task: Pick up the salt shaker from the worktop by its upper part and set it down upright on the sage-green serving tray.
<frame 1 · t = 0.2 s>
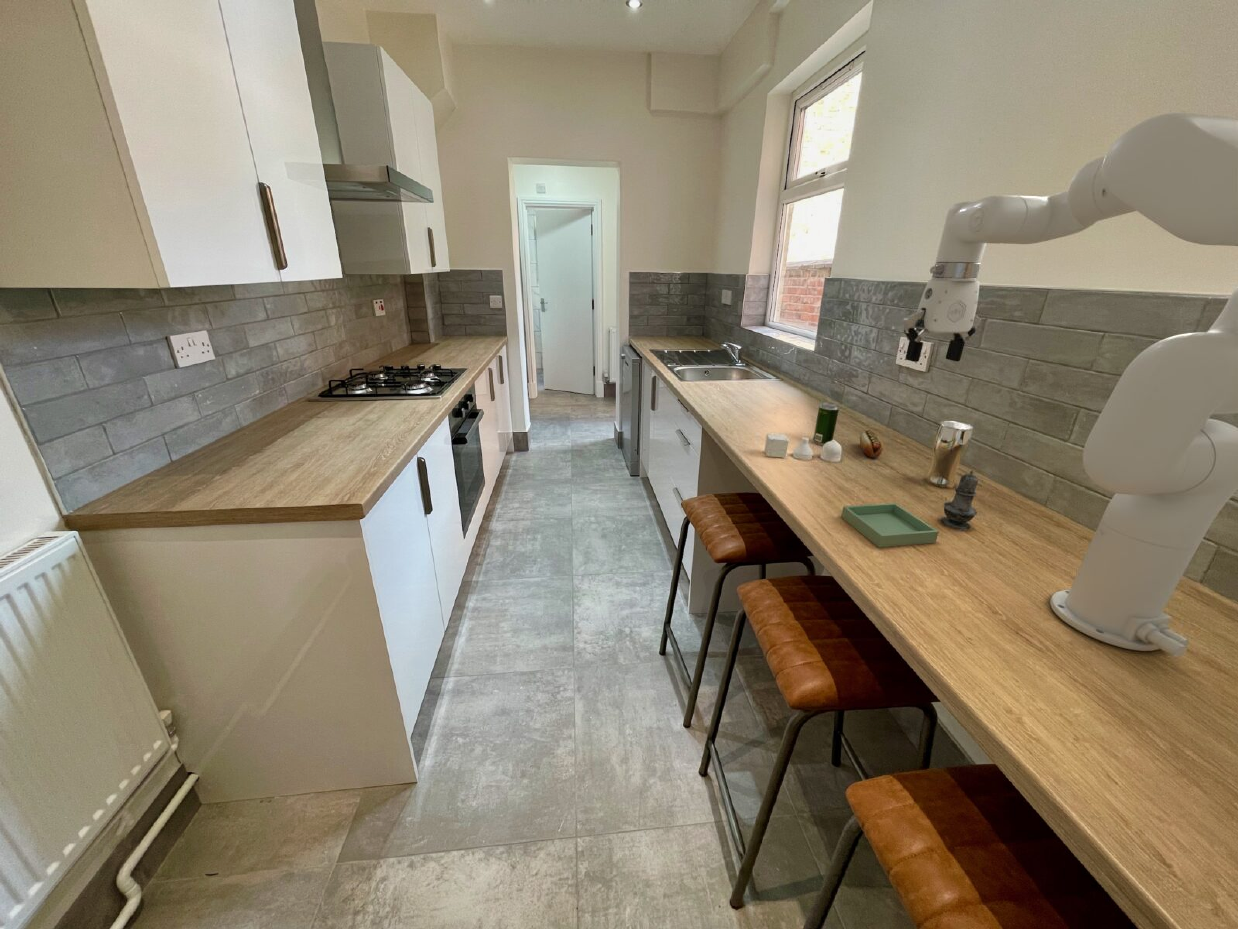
hand: (932, 360, 102), 31 cm above the table, tool pointing down, fingers open, 9 cm apart
serving tray: (886, 529, 98), on the table
beer can: (822, 443, 147), on the table
hot dog: (868, 452, 140), on the table
beer glass: (939, 483, 120), on the table
container set: (802, 457, 135), on the table
salt shaker: (955, 524, 101), on the table
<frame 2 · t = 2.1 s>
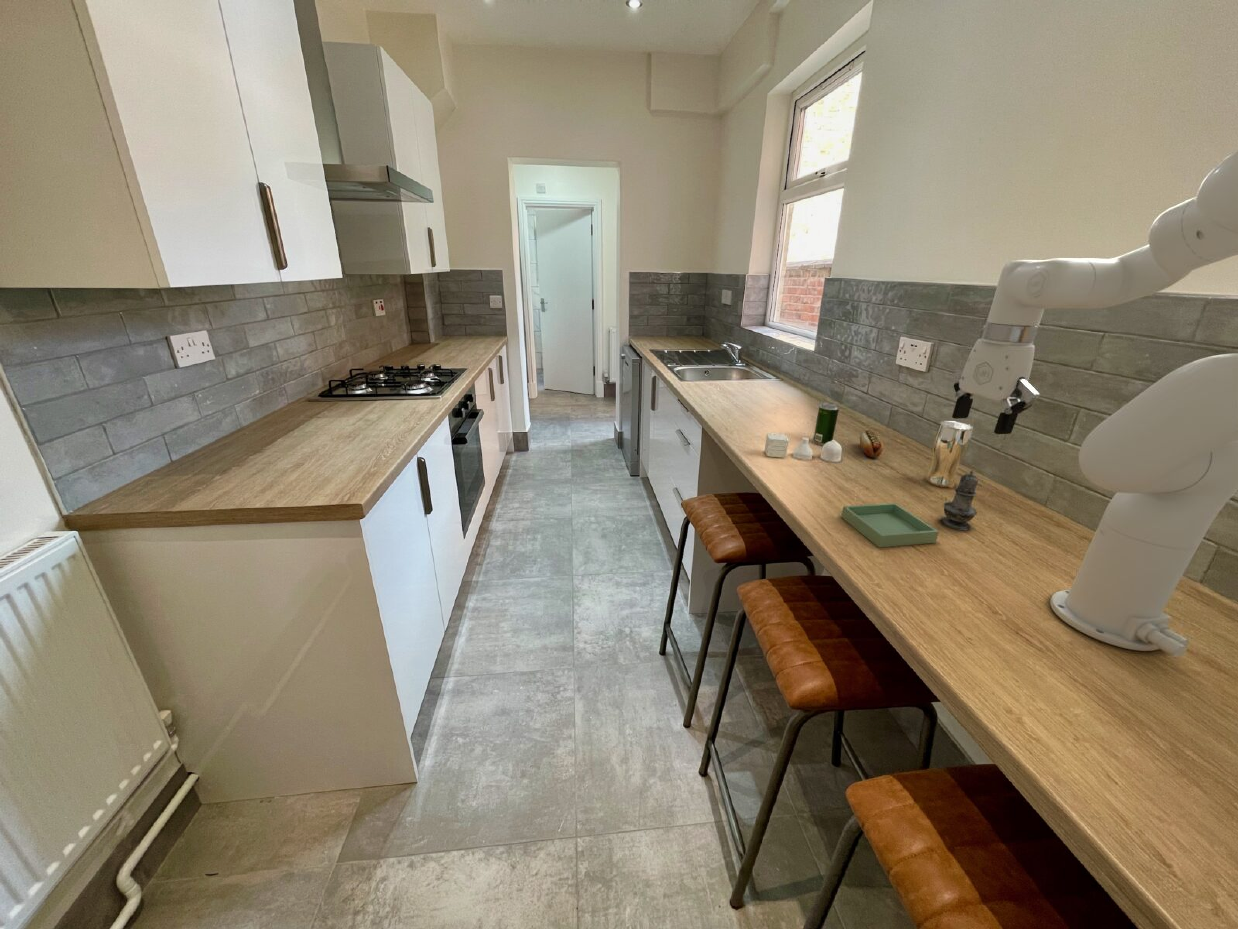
hand: (979, 425, 94), 21 cm above the table, tool pointing down, fingers open, 9 cm apart
nothing on the table moved.
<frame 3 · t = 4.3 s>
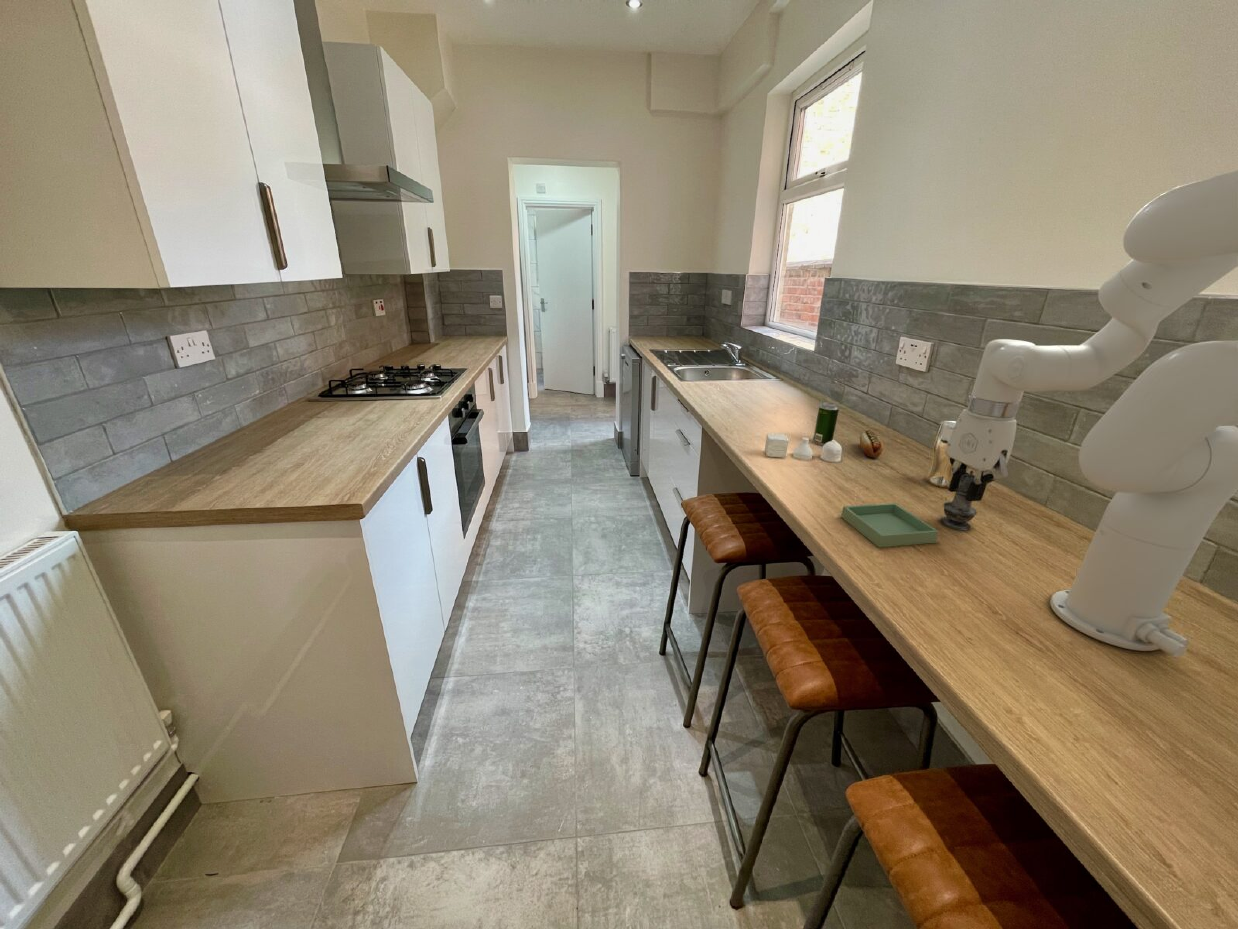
hand: (964, 494, 98), 7 cm above the table, tool pointing down, fingers closed on salt shaker, 3 cm apart
salt shaker: (955, 524, 101), on the table, touching gripper
everything else where it was.
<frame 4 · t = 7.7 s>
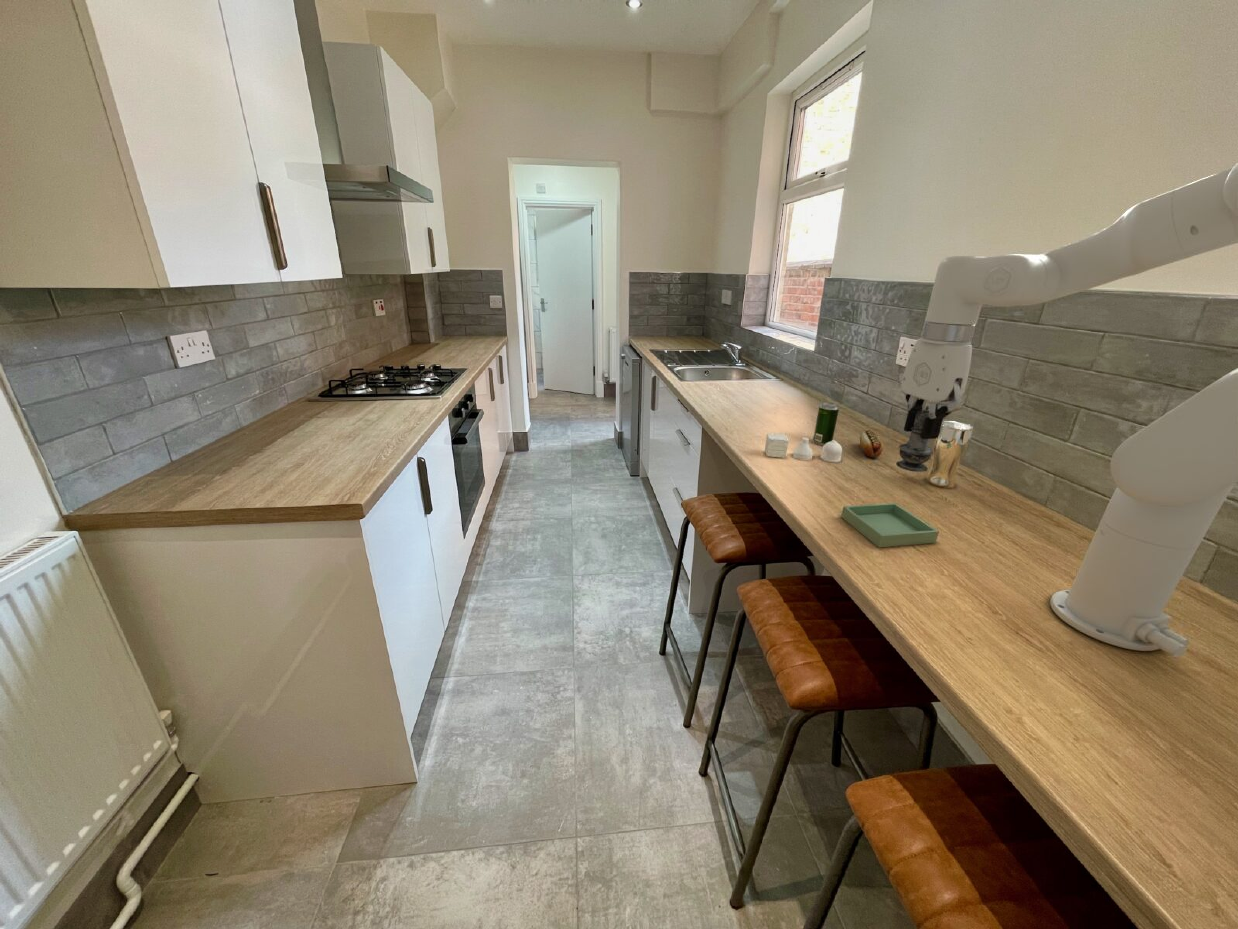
hand: (920, 433, 91), 20 cm above the table, tool pointing down, fingers closed on salt shaker, 3 cm apart
salt shaker: (911, 467, 94), point 13 cm above the table, touching gripper
everything else where it was.
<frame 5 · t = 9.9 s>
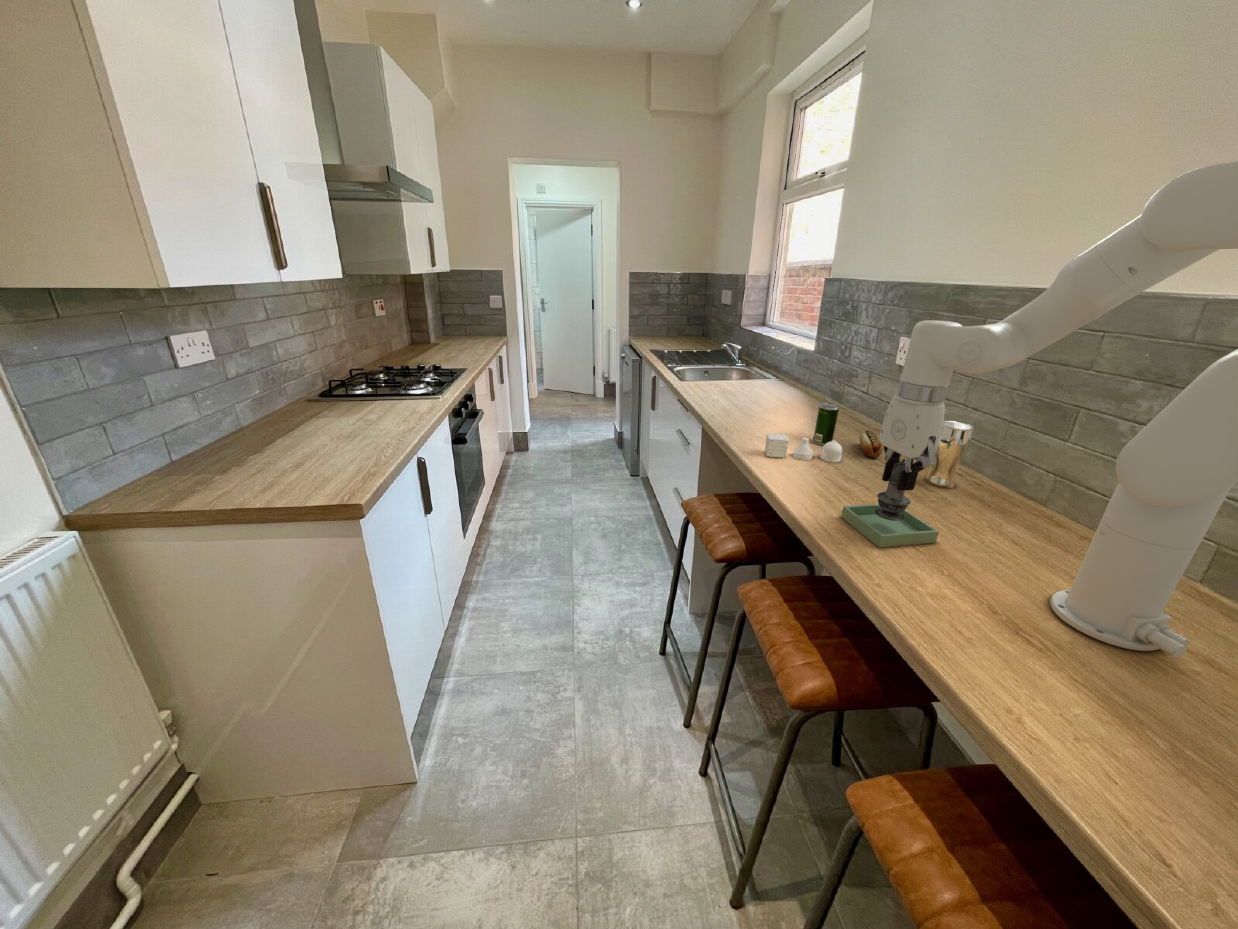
hand: (897, 484, 95), 10 cm above the table, tool pointing down, fingers closed on salt shaker, 3 cm apart
salt shaker: (889, 515, 97), point 3 cm above the table, touching gripper
everything else where it was.
when the fingers open (7 cm above the table, at t = 11.0 s): salt shaker stays where it is, resting on serving tray.
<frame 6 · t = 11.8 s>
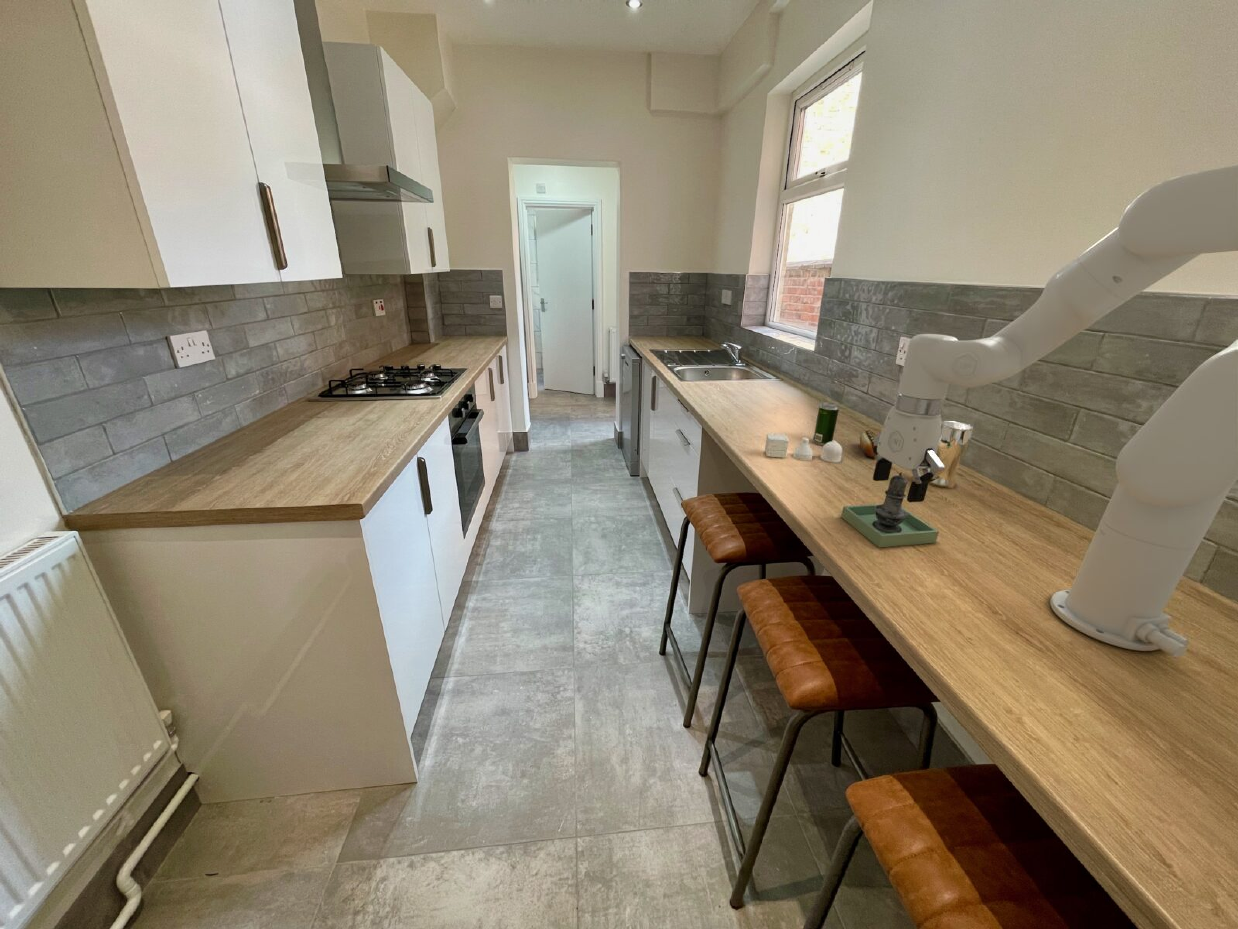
hand: (896, 490, 95), 9 cm above the table, tool pointing down, fingers open, 9 cm apart
salt shaker: (886, 527, 98), resting on serving tray
everything else where it was.
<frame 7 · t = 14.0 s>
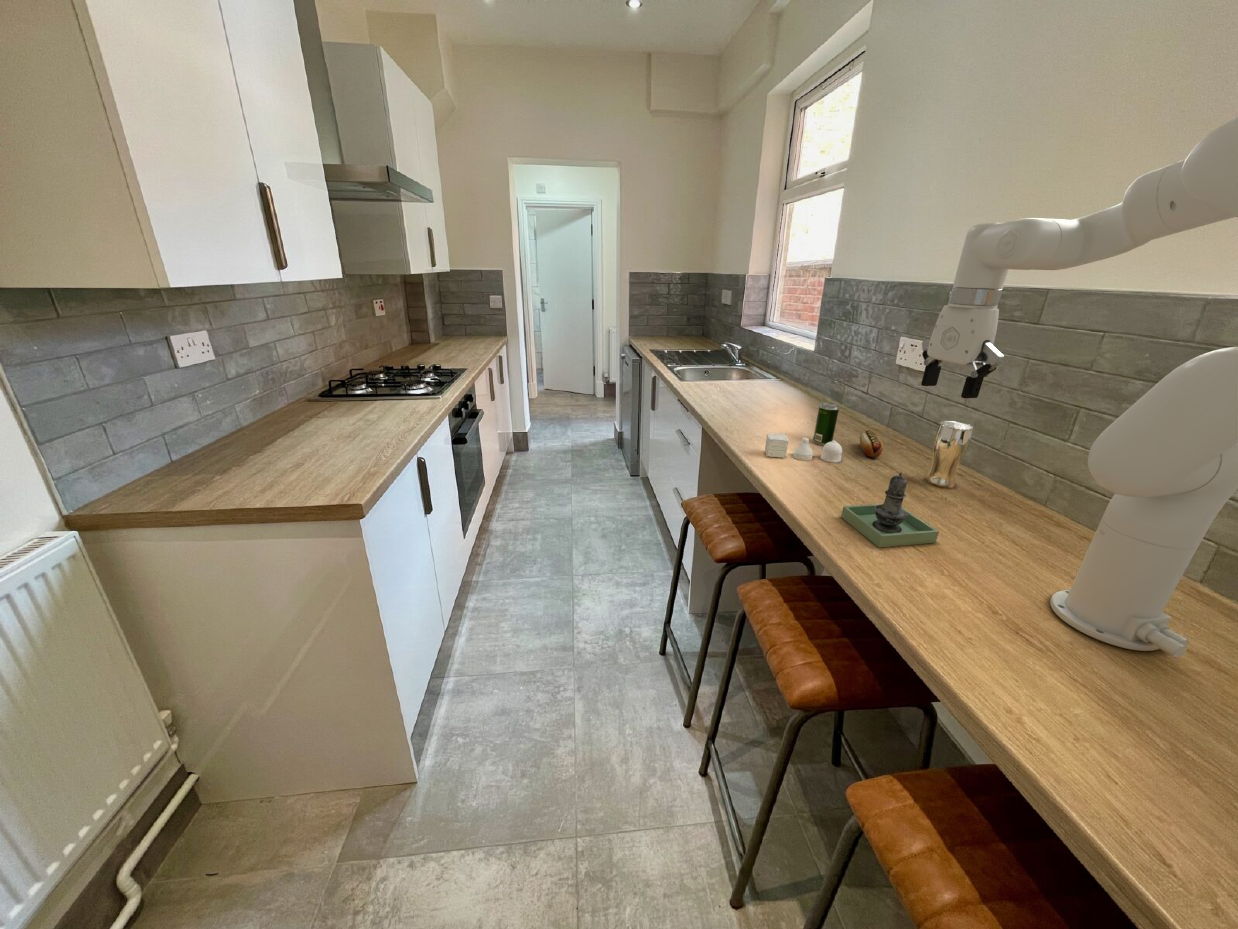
hand: (947, 391, 95), 27 cm above the table, tool pointing down, fingers open, 9 cm apart
nothing on the table moved.
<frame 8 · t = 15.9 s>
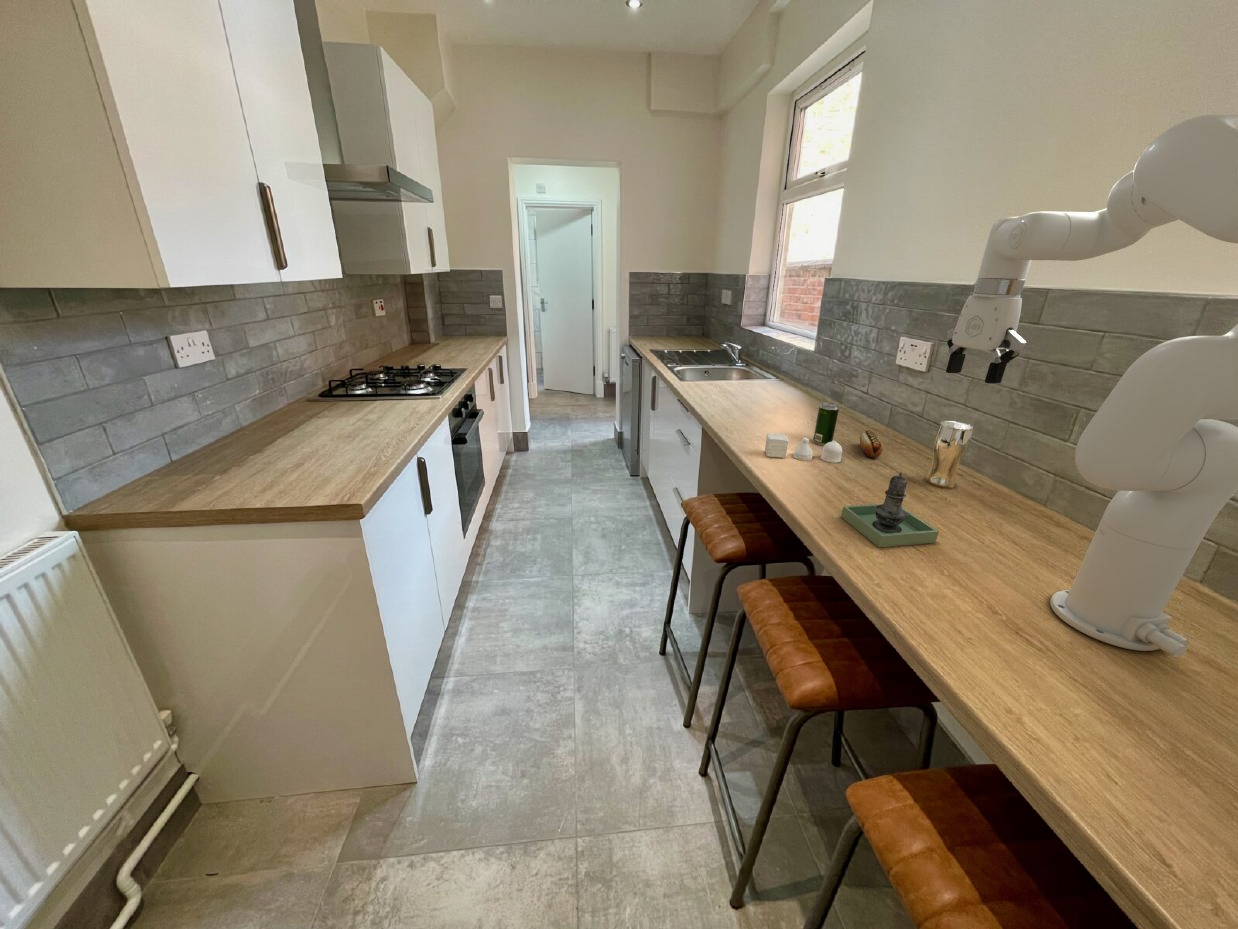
hand: (971, 377, 100), 28 cm above the table, tool pointing down, fingers open, 9 cm apart
nothing on the table moved.
at the end: salt shaker inside the target area in the serving tray (0.0 cm from its centre), point 0.3 cm above the serving tray's base; salt shaker tilted 0°; the gripper is holding nothing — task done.
